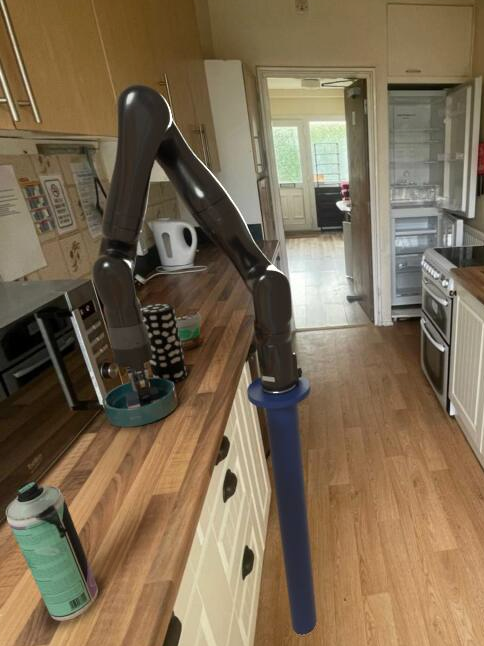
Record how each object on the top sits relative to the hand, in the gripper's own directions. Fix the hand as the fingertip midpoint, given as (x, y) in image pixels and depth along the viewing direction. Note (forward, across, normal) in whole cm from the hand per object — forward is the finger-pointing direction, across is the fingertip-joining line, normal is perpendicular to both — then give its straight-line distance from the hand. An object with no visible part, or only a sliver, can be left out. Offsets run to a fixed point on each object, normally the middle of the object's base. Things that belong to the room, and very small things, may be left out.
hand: (145, 407), depth 102 cm
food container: (+1, +33, -18) cm, 37 cm away
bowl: (+1, 0, 0) cm, 1 cm away
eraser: (0, 0, 0) cm, 0 cm away
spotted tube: (+1, +15, -9) cm, 17 cm away
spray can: (+1, -47, +16) cm, 50 cm away
